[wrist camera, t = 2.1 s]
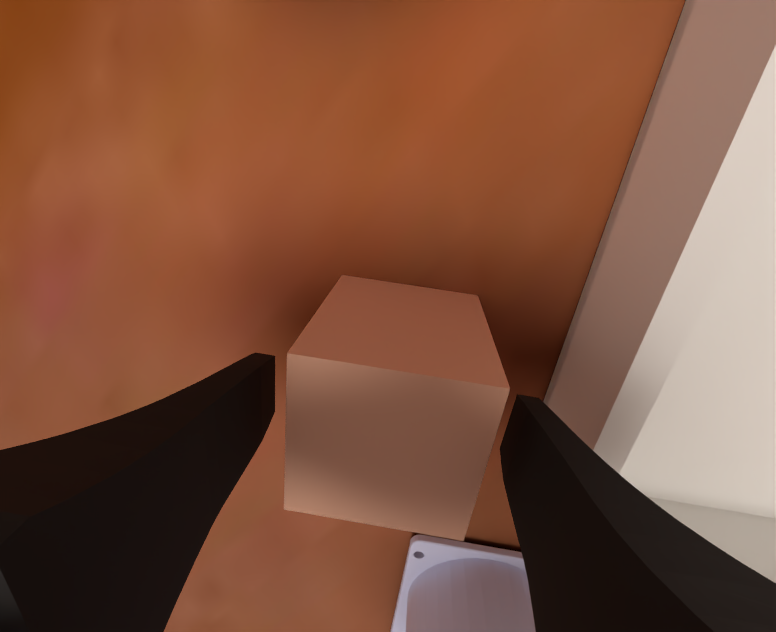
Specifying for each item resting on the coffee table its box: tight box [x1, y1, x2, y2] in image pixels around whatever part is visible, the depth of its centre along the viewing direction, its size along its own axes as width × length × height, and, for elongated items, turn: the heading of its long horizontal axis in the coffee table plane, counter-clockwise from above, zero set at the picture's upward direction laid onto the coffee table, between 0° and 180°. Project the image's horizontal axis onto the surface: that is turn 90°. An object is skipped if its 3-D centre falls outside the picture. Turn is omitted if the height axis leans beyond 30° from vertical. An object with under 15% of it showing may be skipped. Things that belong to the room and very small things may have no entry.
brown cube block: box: [284, 275, 510, 541], centre depth 12 cm, size 5×5×6 cm
